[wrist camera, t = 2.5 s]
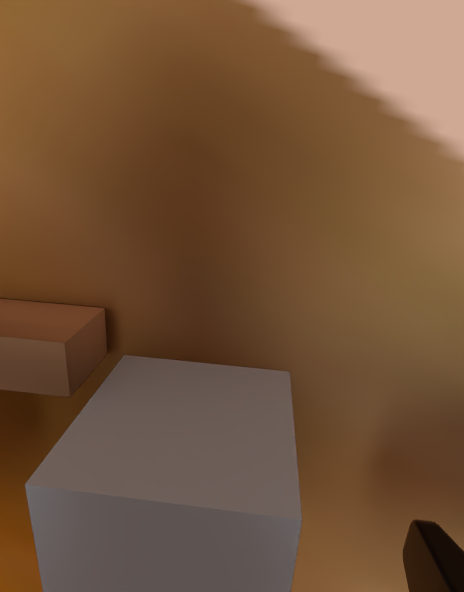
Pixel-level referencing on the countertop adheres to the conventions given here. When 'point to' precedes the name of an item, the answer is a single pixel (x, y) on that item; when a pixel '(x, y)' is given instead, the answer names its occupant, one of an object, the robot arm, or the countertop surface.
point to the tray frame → (49, 346)
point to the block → (172, 484)
